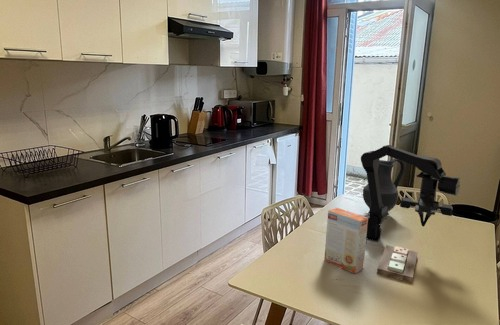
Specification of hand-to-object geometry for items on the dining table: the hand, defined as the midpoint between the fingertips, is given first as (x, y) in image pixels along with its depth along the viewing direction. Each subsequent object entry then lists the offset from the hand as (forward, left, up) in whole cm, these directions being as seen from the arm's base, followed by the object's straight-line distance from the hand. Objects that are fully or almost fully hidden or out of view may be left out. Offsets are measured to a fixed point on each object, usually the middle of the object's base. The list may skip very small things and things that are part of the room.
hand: (422, 226), depth 148 cm
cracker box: (-25, -26, -12) cm, 38 cm away
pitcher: (-21, +38, -12) cm, 45 cm away
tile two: (-7, -15, -11) cm, 20 cm away
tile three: (-7, -8, -11) cm, 15 cm away
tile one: (-7, -22, -11) cm, 26 cm away
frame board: (-7, -15, -12) cm, 20 cm away
